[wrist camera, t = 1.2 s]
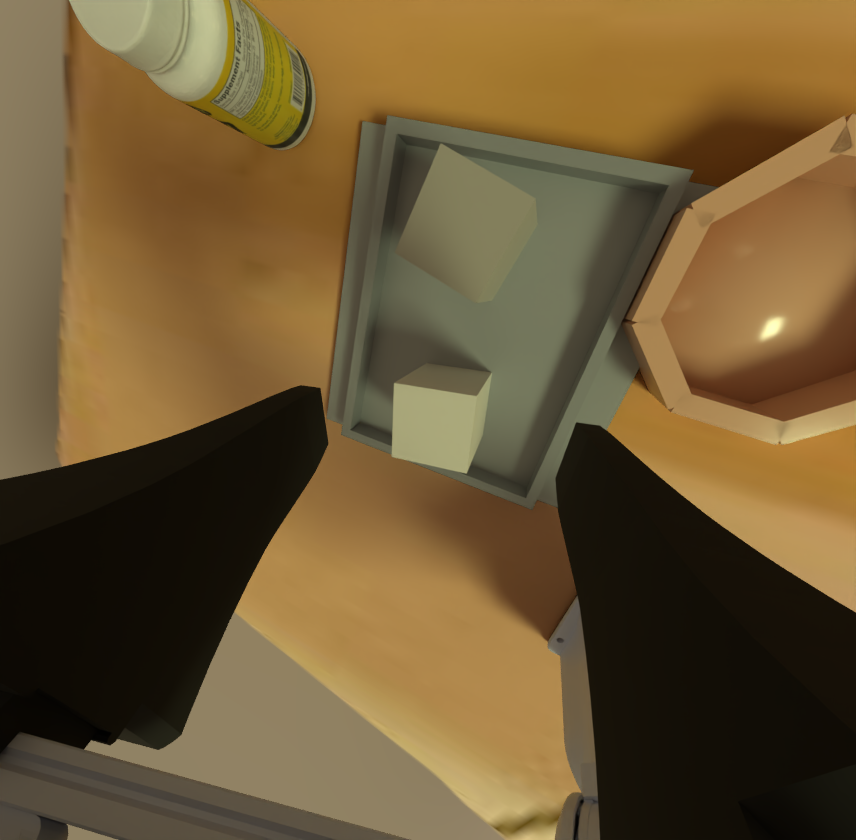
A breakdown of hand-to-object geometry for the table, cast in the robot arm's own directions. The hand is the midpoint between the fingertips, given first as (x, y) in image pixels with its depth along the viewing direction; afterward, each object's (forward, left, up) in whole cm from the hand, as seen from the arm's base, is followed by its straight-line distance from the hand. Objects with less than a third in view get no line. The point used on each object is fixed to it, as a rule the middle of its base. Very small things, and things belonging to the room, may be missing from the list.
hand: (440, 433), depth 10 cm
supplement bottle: (+10, +15, -11) cm, 22 cm away
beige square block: (+6, +2, -11) cm, 12 cm away
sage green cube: (-3, +1, -11) cm, 11 cm away
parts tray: (+1, +1, -11) cm, 11 cm away
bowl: (+6, -11, -11) cm, 17 cm away
